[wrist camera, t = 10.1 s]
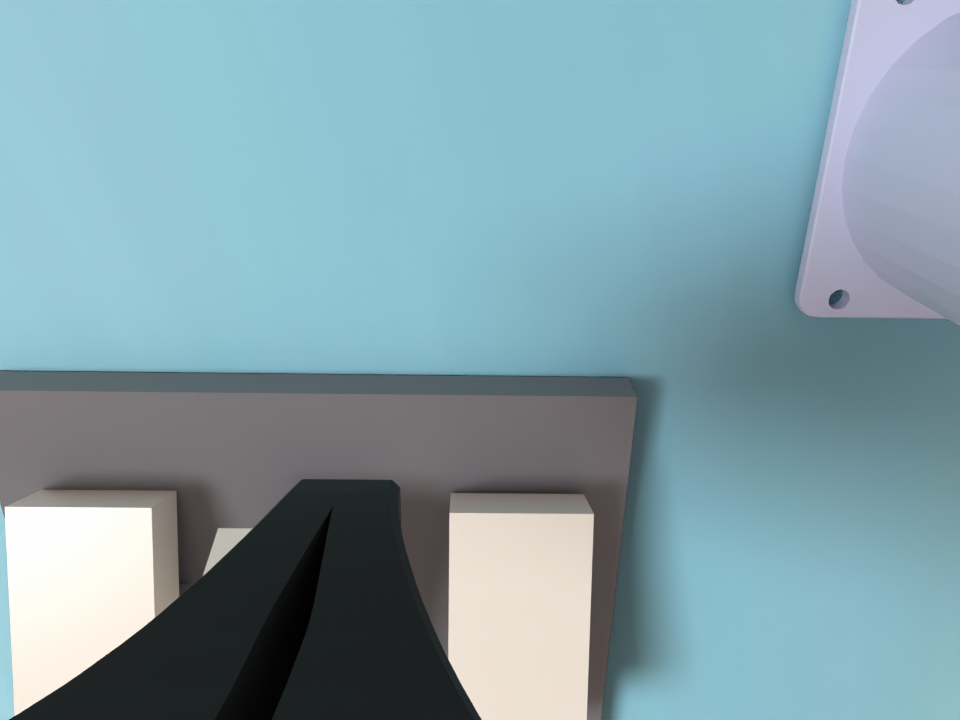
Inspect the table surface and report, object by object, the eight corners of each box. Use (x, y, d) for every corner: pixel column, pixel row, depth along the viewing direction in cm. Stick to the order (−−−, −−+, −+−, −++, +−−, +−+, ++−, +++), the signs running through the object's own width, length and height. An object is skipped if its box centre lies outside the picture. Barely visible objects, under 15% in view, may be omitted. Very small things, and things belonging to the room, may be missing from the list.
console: (628, 377, 20) (645, 412, 18) (591, 723, 25) (601, 779, 23) (-4, 370, 20) (-55, 406, 18) (88, 722, 25) (56, 779, 23)
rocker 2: (583, 493, 20) (594, 515, 18) (575, 765, 21) (584, 809, 19) (451, 493, 20) (449, 514, 18) (448, 765, 21) (447, 809, 19)
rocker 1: (176, 490, 20) (150, 508, 18) (183, 770, 21) (158, 812, 19) (41, 489, 20) (2, 508, 18) (53, 770, 21) (16, 812, 19)
